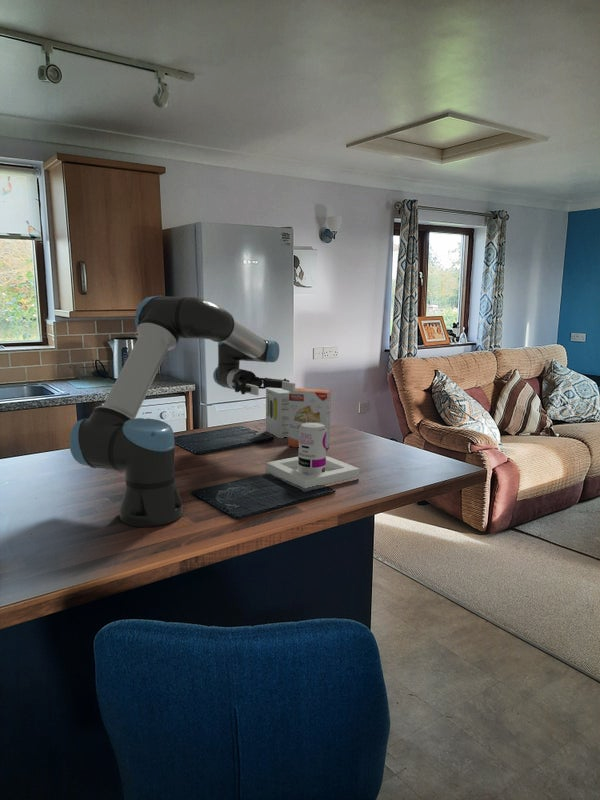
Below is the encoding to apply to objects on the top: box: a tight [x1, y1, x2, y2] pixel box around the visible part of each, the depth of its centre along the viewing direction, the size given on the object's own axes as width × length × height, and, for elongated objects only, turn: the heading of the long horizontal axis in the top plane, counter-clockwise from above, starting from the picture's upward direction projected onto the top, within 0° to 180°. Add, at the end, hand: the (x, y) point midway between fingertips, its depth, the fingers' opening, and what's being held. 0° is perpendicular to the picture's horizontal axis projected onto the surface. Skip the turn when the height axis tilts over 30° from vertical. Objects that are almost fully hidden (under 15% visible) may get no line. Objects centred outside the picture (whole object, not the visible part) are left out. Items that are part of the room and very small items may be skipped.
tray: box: [265, 455, 360, 488], centre depth 171 cm, size 20×20×4 cm
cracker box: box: [287, 387, 332, 449], centre depth 202 cm, size 14×6×21 cm, turn 73°
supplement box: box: [265, 386, 300, 439], centre depth 221 cm, size 13×13×18 cm
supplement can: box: [297, 422, 327, 476], centre depth 170 cm, size 8×8×15 cm
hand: (276, 389), depth 177 cm, fingers open, 13 cm apart
